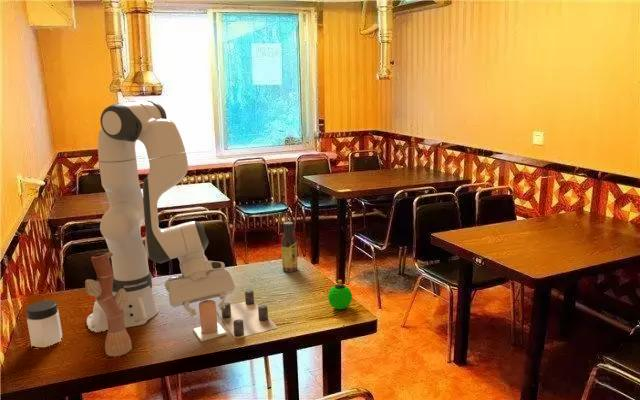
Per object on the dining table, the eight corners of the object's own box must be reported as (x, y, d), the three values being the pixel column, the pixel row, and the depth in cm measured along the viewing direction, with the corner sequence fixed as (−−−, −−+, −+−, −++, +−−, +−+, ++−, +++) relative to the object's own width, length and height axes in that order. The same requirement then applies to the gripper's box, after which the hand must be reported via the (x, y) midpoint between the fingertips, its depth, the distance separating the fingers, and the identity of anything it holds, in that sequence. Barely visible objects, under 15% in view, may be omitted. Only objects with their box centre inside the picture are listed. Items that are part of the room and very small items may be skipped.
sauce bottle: (295, 273, 205) (293, 225, 201) (280, 272, 206) (278, 225, 202) (299, 267, 211) (297, 221, 207) (285, 266, 213) (282, 220, 208)
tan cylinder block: (204, 335, 155) (201, 308, 153) (199, 329, 159) (196, 302, 157) (219, 331, 157) (217, 304, 155) (214, 325, 161) (212, 298, 159)
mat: (200, 341, 153) (200, 339, 153) (193, 330, 160) (193, 328, 159) (226, 334, 157) (226, 332, 156) (218, 324, 163) (217, 322, 163)
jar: (56, 332, 161) (51, 297, 159) (68, 340, 156) (62, 304, 153) (26, 344, 155) (19, 307, 152) (37, 352, 150) (31, 314, 147)
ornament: (349, 314, 167) (348, 286, 165) (325, 312, 170) (324, 284, 167) (354, 304, 175) (354, 277, 173) (332, 302, 177) (331, 275, 175)
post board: (234, 340, 154) (233, 325, 153) (214, 309, 175) (213, 296, 174) (278, 329, 160) (277, 315, 159) (253, 301, 181) (252, 288, 180)
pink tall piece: (133, 341, 154) (121, 247, 147) (134, 352, 148) (122, 254, 141) (95, 349, 151) (81, 252, 144) (95, 361, 144) (80, 260, 137)
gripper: (164, 274, 155) (175, 316, 149) (228, 261, 164) (241, 300, 158) (162, 283, 160) (173, 324, 153) (224, 270, 169) (237, 308, 163)
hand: (208, 312), depth 156 cm, fingers open, 8 cm apart
